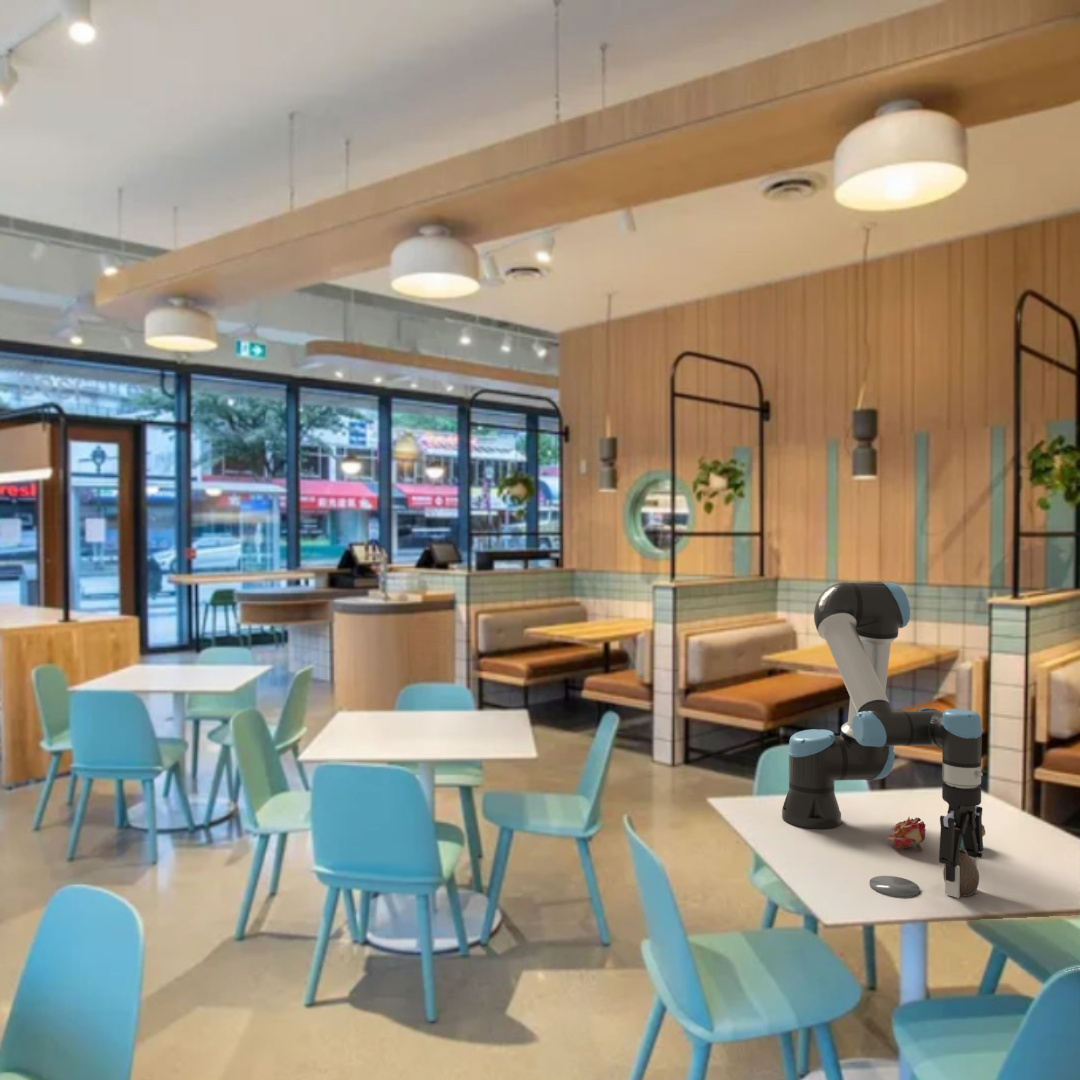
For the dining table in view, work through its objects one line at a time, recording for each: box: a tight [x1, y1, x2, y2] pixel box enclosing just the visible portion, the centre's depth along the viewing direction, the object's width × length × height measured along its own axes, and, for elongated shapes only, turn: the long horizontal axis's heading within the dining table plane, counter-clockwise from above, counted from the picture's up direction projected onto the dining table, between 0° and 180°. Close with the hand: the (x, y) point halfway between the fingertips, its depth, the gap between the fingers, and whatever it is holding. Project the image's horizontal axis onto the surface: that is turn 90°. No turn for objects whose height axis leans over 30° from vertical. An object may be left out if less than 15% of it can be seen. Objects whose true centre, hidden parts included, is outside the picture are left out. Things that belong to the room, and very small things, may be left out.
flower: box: [886, 816, 927, 852], centre depth 213 cm, size 10×9×8 cm
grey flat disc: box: [869, 875, 920, 898], centre depth 190 cm, size 10×10×1 cm
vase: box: [942, 849, 980, 897], centre depth 188 cm, size 7×7×9 cm
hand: (961, 890), depth 188 cm, fingers closed on vase, 7 cm apart
